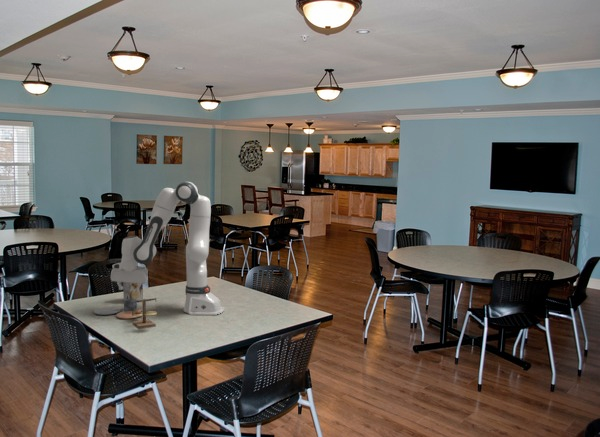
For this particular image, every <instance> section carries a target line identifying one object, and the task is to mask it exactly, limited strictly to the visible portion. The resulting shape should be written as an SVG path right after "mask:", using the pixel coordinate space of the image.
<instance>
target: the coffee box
mask: <svg viewBox="0 0 600 437" xmlns="http://www.w3.org/2000/svg"><path fill="white" fill-rule="evenodd" d="M122 286H123V301H124V300H126V299H128V298H129V299H137V301H138V300H143V299H144V290H143V288H144V287H143V286H144V284H141V286H140V288H139V291H135V288H137V287H138V285H137V283H128V282H122Z"/></svg>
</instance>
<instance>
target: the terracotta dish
mask: <svg viewBox="0 0 600 437" xmlns="http://www.w3.org/2000/svg"><path fill="white" fill-rule="evenodd" d="M133 313H135V311H133ZM116 317H117V318H118V319H123V320H124V319H125V320H126V319H127V320H129V319H137V318H141V316H138V317H135V316H132V311H124V310H123V311H119V312H118V313H116Z"/></svg>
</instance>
